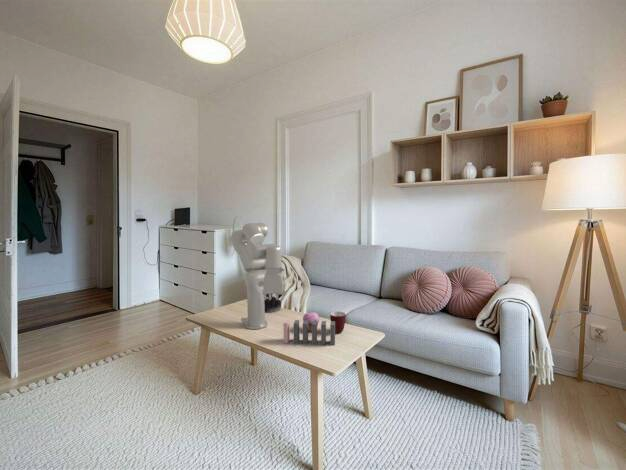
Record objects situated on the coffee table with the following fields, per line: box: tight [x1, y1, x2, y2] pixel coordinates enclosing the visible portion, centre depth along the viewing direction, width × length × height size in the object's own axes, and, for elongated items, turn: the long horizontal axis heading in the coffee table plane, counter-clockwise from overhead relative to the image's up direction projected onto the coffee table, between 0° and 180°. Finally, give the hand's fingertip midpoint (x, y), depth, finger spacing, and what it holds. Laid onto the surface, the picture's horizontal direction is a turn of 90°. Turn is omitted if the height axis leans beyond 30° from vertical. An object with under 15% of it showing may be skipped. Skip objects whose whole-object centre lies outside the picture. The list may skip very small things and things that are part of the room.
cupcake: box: [302, 311, 320, 333], centre depth 166 cm, size 9×9×10 cm
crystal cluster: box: [264, 296, 282, 314], centre depth 201 cm, size 13×14×10 cm
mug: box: [329, 311, 347, 335], centre depth 164 cm, size 11×8×10 cm
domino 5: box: [329, 320, 336, 346], centre depth 150 cm, size 2×5×10 cm, turn 173°
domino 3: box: [311, 321, 318, 346], centre depth 151 cm, size 2×5×10 cm, turn 173°
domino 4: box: [320, 320, 327, 346], centre depth 150 cm, size 2×5×10 cm, turn 173°
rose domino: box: [282, 319, 291, 344], centre depth 152 cm, size 2×5×10 cm, turn 173°
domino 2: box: [302, 320, 309, 345], centre depth 151 cm, size 2×5×10 cm, turn 173°
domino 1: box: [293, 319, 300, 345], centre depth 152 cm, size 2×5×10 cm, turn 173°
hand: (274, 307), depth 152 cm, fingers closed
